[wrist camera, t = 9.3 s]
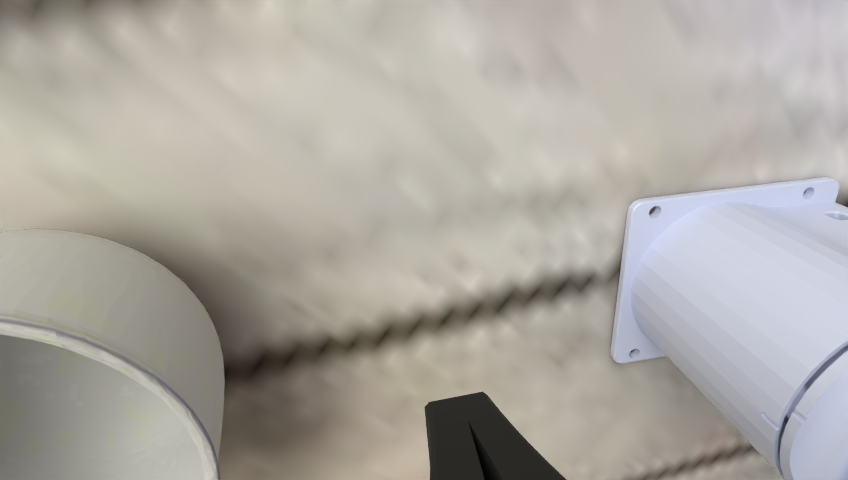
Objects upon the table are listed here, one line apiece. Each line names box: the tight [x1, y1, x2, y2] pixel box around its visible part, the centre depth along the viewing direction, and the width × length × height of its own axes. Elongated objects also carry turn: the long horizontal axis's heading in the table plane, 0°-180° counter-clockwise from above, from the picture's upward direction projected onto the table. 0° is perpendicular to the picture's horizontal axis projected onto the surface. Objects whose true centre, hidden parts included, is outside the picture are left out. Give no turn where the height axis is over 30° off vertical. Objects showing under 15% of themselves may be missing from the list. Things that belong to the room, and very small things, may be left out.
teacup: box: [0, 229, 225, 480], centre depth 17 cm, size 14×11×8 cm
